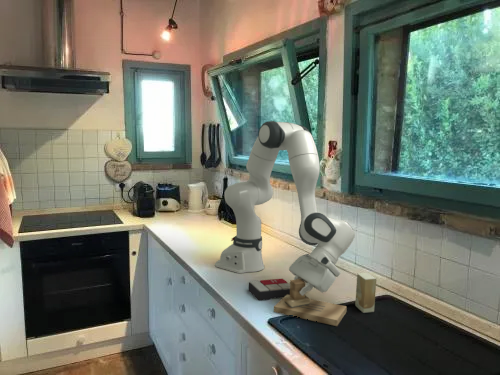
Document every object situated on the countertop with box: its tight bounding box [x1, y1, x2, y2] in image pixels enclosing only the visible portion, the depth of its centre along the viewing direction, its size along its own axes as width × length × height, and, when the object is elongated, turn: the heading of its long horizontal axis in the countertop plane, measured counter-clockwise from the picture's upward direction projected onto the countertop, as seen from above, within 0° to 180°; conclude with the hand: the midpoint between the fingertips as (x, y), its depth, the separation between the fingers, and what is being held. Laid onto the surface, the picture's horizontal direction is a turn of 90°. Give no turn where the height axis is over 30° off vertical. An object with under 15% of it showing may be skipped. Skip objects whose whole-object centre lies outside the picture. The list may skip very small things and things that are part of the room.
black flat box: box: [247, 278, 290, 302], centre depth 161 cm, size 11×4×15 cm
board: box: [273, 294, 348, 327], centre depth 144 cm, size 22×12×2 cm, turn 63°
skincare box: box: [354, 272, 377, 314], centre depth 146 cm, size 6×4×12 cm
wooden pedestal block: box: [285, 279, 311, 308], centre depth 145 cm, size 5×7×8 cm
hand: (296, 291), depth 145 cm, fingers open, 4 cm apart
